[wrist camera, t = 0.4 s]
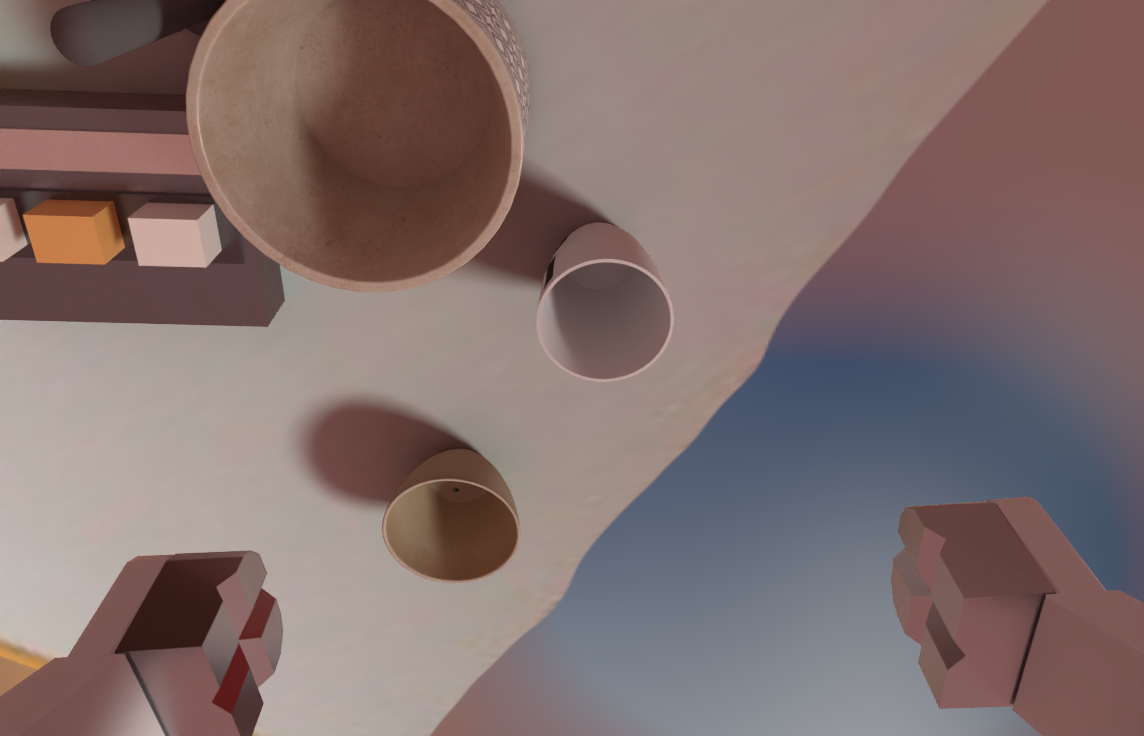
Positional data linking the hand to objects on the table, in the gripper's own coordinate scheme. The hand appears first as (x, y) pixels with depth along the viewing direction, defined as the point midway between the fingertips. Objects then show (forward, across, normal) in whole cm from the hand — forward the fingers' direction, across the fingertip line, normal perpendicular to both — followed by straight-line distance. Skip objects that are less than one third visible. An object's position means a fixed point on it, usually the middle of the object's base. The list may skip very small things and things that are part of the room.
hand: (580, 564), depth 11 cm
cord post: (+46, +20, -3) cm, 51 cm away
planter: (+46, +10, +3) cm, 48 cm away
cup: (+46, -1, +16) cm, 49 cm away
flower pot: (+46, +11, +33) cm, 58 cm away
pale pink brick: (+42, +24, +10) cm, 49 cm away
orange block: (+42, +30, +9) cm, 53 cm away
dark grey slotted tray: (+46, +30, +9) cm, 56 cm away
